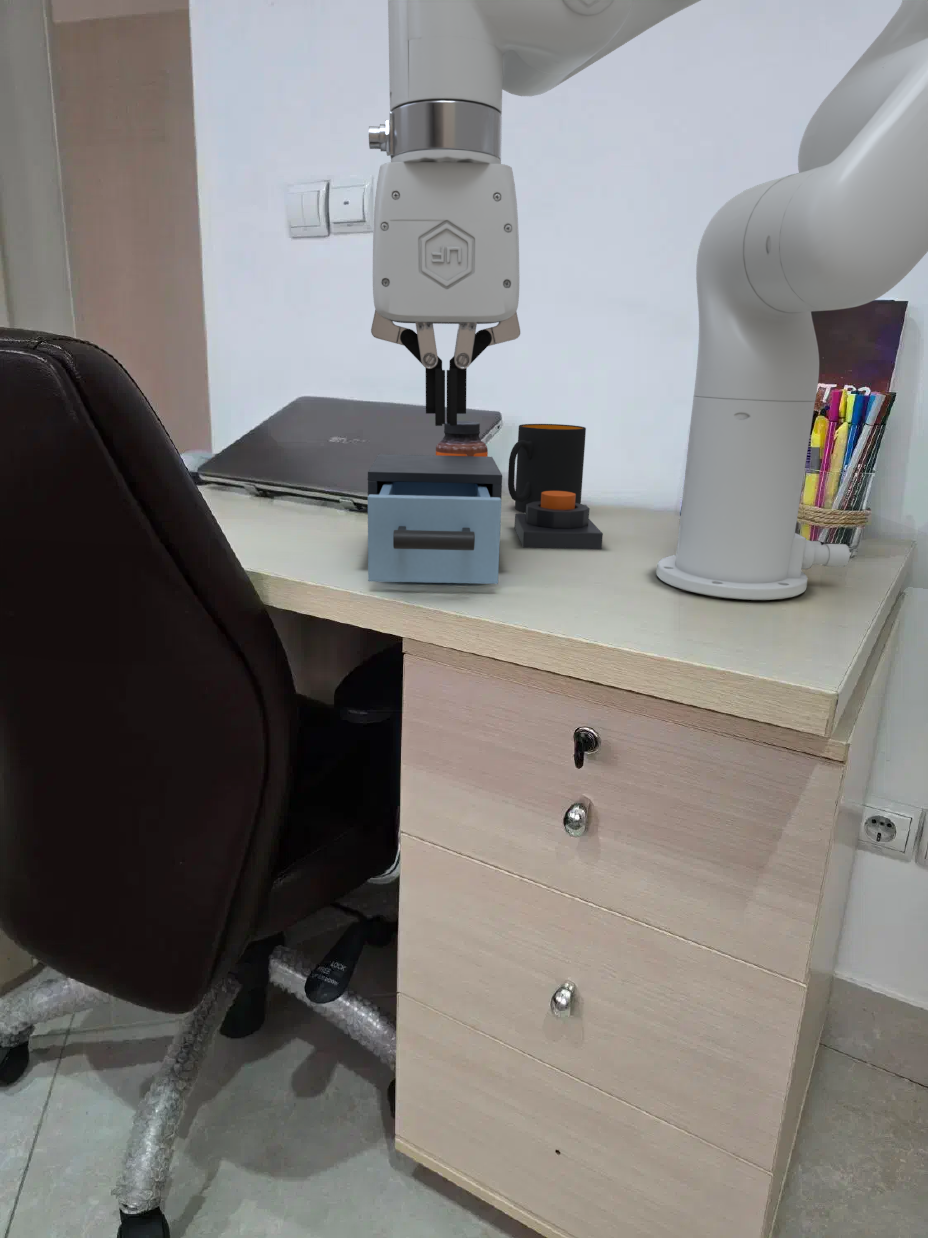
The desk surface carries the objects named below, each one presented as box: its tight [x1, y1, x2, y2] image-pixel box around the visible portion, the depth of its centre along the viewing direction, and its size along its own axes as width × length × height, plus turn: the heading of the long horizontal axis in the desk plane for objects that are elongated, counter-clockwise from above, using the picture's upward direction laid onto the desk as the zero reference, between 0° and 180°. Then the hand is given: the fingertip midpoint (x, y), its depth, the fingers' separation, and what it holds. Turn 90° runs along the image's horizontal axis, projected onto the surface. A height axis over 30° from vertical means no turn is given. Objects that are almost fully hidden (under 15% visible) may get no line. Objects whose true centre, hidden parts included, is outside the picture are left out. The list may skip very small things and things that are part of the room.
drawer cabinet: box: [367, 453, 503, 499], centre depth 79 cm, size 14×12×9 cm
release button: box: [541, 491, 576, 510], centre depth 87 cm, size 4×4×2 cm
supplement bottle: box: [435, 420, 489, 457], centre depth 94 cm, size 6×6×11 cm
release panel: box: [514, 501, 604, 550], centre depth 88 cm, size 8×10×4 cm
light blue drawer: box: [367, 481, 502, 585], centre depth 69 cm, size 17×10×7 cm, turn 2°
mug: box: [507, 423, 587, 514], centre depth 102 cm, size 8×12×10 cm
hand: (445, 423), depth 62 cm, fingers closed
